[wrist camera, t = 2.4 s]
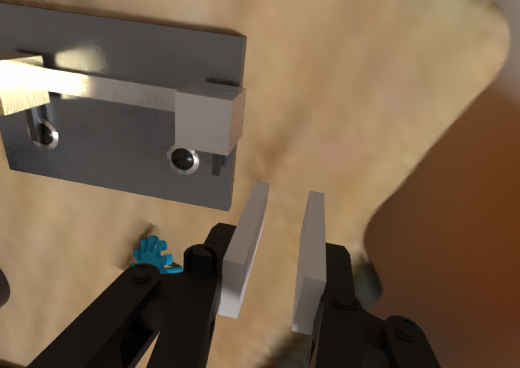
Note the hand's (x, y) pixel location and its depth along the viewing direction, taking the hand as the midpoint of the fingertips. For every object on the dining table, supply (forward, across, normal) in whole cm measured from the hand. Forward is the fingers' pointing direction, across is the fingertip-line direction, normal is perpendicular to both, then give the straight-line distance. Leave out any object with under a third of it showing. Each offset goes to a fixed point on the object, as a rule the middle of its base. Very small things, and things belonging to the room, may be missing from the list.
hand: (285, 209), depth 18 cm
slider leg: (+18, +9, +3) cm, 20 cm away
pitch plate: (+20, +22, +3) cm, 30 cm away
